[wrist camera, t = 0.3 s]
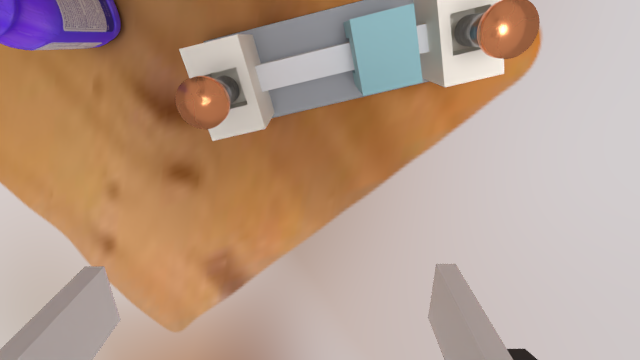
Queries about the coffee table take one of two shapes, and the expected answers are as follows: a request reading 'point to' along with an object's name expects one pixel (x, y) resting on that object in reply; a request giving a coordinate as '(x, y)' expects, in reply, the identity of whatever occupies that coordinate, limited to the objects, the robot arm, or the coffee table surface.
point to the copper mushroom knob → (206, 100)
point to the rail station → (327, 60)
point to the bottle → (58, 23)
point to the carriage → (384, 50)
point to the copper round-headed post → (500, 29)
